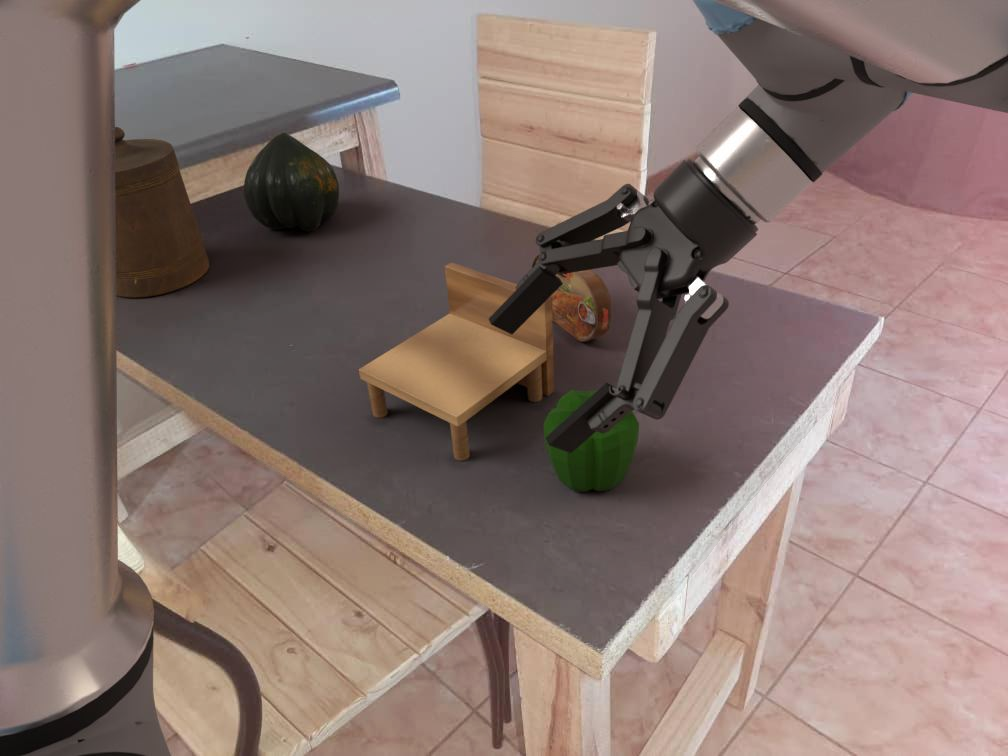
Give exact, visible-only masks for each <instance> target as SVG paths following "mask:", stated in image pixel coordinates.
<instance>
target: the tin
mask: <svg viewBox="0 0 1008 756" xmlns="http://www.w3.org/2000/svg"><path fill="white" fill-rule="evenodd" d="M539 255H540V253H539V254H537V255H536V256H535V257H534V258H533V261H532V263H531V269H532V268H533V267H534V265H535V264H536V263H537V262H538V257H539ZM563 275H564V276H566V278H564V277H562V276H560V275H559V274H556V275H555V276H557V277H558V278H560V280H561V281H562V283H563V284H562V285H561V286H560V287H559V288H558V289H557V290H556V291H555V292H554V293H553V294H552V295H551V296H552V318H553V322H554V323H555V324H557V325H558V326H559V327H560V328H561V329H563V330H564V331H565V332H566V333H568V334H569V335H570V336H571V337H573V338H574V339H575V340H577V341H578V342H582V343H587V342H589V341H590V340H595V339H597V338H600V337H602V336H604V335H606V334H607V333H608V331H609V330H610V327H611V322H612V299H611V295H610V292H609V290H608V287H607V285H606V283H605V282H604V280H603V279H602V278H601V277H600V276H599V274H597V273H596V272H594V271H593V270H592V269H591V270H585V271H579V272H573V273H567V274H566V275H565V274H563Z"/></svg>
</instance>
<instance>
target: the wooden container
mask: <svg viewBox="0 0 1008 756" xmlns="http://www.w3.org/2000/svg"><path fill="white" fill-rule="evenodd" d="M125 136H126V134H125V131H124V129H122V128H121V127H119V126H115V209H116V297H117V296H118V297H123V298H149V297H156V296H159V295H160V296H161V295H165V294H168V293H171V292H175V291H177V290H180V289H183V288H185V287H187V286H189V285H191V284H193V283H194V282H196V281H198V280H199V279H200V278H202V277H203V276H204V275H205V274H206V273H207V272H208V270H209V268H210V259H209V257H208V254H207V249H206V247H205V245H204V242H203V241H204V240H203V237H202V234H201V231H200V227H199V224H198V220H197V217H196V215H195V211H194V209H193V205H192V203H191V201H190V198H189V195H188V192H187V191H188V190H187V188H186V185H185V183H184V179H183V177H182V173H181V170H180V165H179V162H178V158H177V155H176V152H175V149H174V147H173V145H172V144H171V142H169V141H166V140H163V139H157V138H156V139H155V138H134V139H124V138H125Z"/></svg>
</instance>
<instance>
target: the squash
mask: <svg viewBox="0 0 1008 756" xmlns="http://www.w3.org/2000/svg"><path fill="white" fill-rule="evenodd" d="M243 198H244V200H245V203H246V206H247V208H248V209H249V211H250V213H251V215H252V216H253V218H254V219H255V220H256V221H257V222H258V223H260V224H261V225H262V226H264V227H265V228H268V229H273V230H283V229H286V228H288V229H294V228H296V227H297V226H298V227H299V229H301V230H302V231H305V232H313V231H315V230H316V229H318V227H319V226H320V225H324V224H326V223H328V222H329V221H331V220H332V219H333V217H334V215H335V214H336V211H337V208H338V205H339V201H340V184H339V181H338V178H337V174H336V172H335V169H334V168H333V167H332V165H331V164H330V163H329V161H327V160H326V158H324V157H323V156H321V155H320V154H319V153H318V152H316V151H315V150H313V149H311V148H310V147H308V146H307V145H305V144H304V143H302V142H301V141H300V140H298V139H297V138H296V137H294V136H292V135H290V134H288V133H287V132H283V131H282V132H281V133H280V134H278V135H275V136H274V137H273V138H272V139H271V140H270V141H269V142H267V144H266V145H265V146H264V147H263V148H262V149H260V151H259V152H258V153H257V154H256V156H255V157H254V158H253V160H252V162H251V163H250V165H249V166H248V169H247V170H246V173H245V177H244V182H243Z"/></svg>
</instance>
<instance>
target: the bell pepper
mask: <svg viewBox="0 0 1008 756" xmlns="http://www.w3.org/2000/svg"><path fill="white" fill-rule="evenodd" d="M597 391H598V390H590V391H587V390H586V391H585V390H574V389H570V390H569V391H568V392H567V393H566V394H564V395H563V396H561V398H559V400H558V402H557V404H556V407H554V408H552V409H551V410H550V412H549V413H548V414H547V416H546V418H545V420H544V422H543V440H544V445H545V448H546V451H547V454H548V457H549V460H550V462H551V465H552V467H553V470H554V472H555V474H556V476H557V478H558V480H559V481H560V482H561V483H562V484H563V485H565V487H567V488H569V489H571V490H572V491H574V492H588V491H591V490H593V491H596V492H604V491H605V492H606V491H611V490H612V489H613V488H615V487H616V486H617V485H619V484H620V483H621V482H622V481H624V479H625V477H626V475H627V473H628V471H629V468H630V466H631V463H632V460H633V457H634V454H635V451H636V448H637V445H638V442H639V430H640V423H639V420H638V418H637V416H636V414H635V413H634V412H633V411H631V412H630V413H629V414H628V415H627V416H626V417H624V418H623V419H622V420H621V421H620V422H619V423H617V424H616V425H615V426H614V427H613V428H612V429H611V430H610V431H608V432H606V433H603V434H602V433H599V432H597V431H596V432H595V433H594V434H593V435H591V436H590V437H589V438H588V439H587V440H586V441H585V442H583V443H582V444H581V445H580V446H579V447H578V448H577V449H576V450H574V451H573V452H572V453H569V452H566V451H563V450H560V449H558V448H555V447H552V446H549V444H548V442H547V440H546V437H547V436H548V435H549V434H550V433H551V432H552V431H553V430H555V429H556V428H557V427H558V426H559V425H560V424H561V423H562V422H563V421H565V420H566V419H567V418H568V417H569V416H570V415H571V414H572V413H573V412H574V411H576V410H577V409H578V408H579V407H580V406H581V405H582V404H583V403H584V402H586V401H587V400H588V399H589V398H590V397H591V396H592V395H593V394H594V393H595V392H597Z"/></svg>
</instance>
